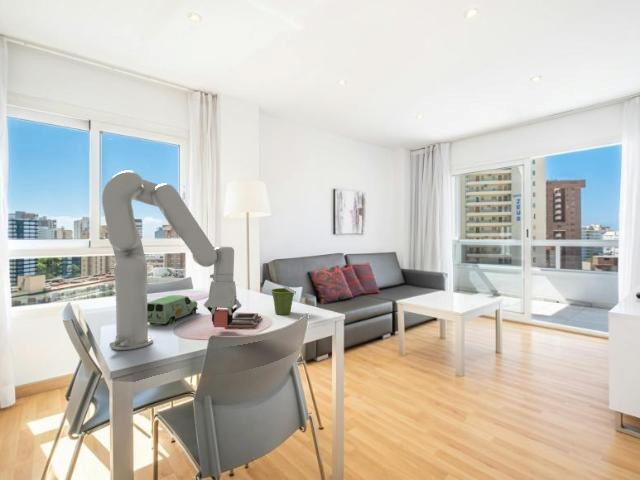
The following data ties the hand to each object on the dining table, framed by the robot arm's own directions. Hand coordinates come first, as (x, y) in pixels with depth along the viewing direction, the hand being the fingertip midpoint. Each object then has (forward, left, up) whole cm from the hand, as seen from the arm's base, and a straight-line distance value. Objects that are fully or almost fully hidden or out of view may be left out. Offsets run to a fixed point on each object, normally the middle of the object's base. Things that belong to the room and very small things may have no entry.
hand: (222, 323), depth 131 cm
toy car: (+19, +28, -4) cm, 34 cm away
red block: (0, 0, -1) cm, 1 cm away
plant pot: (+29, -21, -4) cm, 36 cm away
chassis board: (+12, -6, -3) cm, 14 cm away
